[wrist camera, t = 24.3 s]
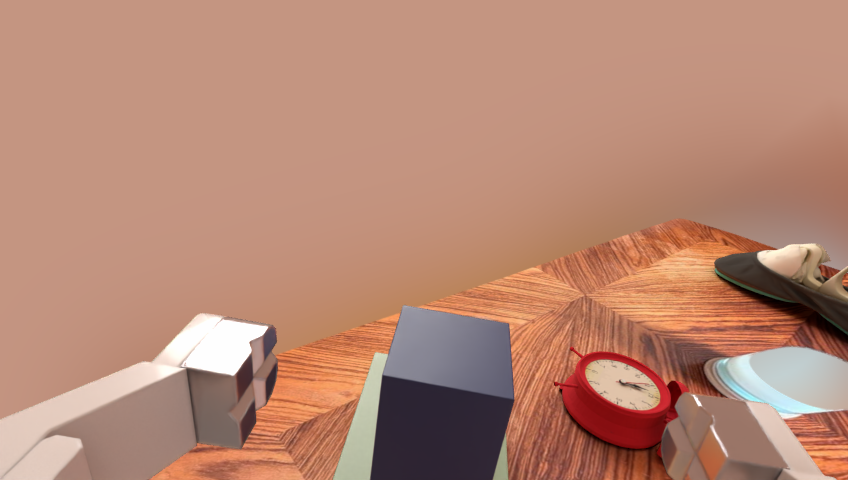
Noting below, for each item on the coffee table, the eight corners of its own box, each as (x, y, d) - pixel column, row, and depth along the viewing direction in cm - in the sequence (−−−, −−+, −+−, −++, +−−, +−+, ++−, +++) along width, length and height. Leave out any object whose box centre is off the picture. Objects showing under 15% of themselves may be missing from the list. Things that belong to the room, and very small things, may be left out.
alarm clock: (571, 334, 56) (722, 362, 49) (569, 380, 58) (715, 413, 51) (547, 385, 47) (727, 428, 40) (547, 437, 49) (718, 486, 42)
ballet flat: (729, 263, 90) (752, 212, 86) (943, 362, 68) (988, 300, 64) (699, 272, 85) (721, 218, 81) (920, 383, 62) (968, 316, 58)
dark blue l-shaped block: (467, 588, 27) (519, 400, 21) (356, 565, 28) (377, 374, 22) (474, 392, 42) (506, 247, 36) (401, 378, 42) (421, 233, 36)
